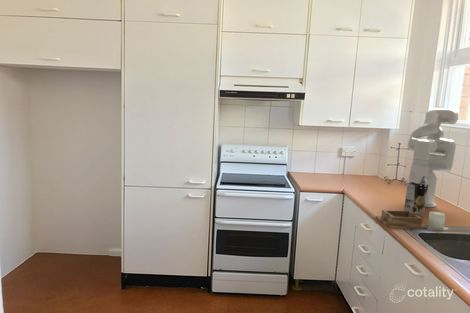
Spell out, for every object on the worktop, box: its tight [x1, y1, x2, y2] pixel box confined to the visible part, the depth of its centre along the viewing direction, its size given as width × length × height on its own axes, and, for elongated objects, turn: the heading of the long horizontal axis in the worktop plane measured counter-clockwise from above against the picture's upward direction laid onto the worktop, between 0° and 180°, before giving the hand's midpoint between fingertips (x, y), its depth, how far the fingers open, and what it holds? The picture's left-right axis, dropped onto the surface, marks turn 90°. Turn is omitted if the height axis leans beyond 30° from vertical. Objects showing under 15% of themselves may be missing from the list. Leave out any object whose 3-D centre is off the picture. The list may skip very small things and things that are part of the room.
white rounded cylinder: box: [427, 211, 446, 230], centre depth 175 cm, size 7×7×7 cm
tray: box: [375, 209, 429, 230], centre depth 178 cm, size 16×19×5 cm
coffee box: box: [403, 182, 428, 215], centre depth 192 cm, size 9×6×16 cm
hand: (416, 193), depth 191 cm, fingers closed on coffee box, 8 cm apart
